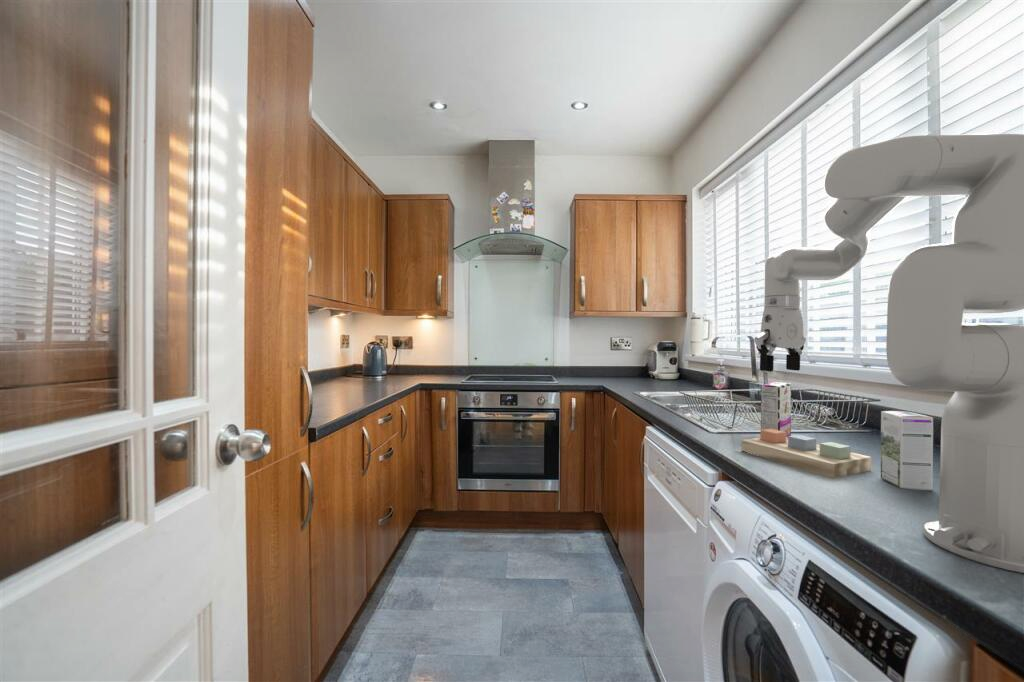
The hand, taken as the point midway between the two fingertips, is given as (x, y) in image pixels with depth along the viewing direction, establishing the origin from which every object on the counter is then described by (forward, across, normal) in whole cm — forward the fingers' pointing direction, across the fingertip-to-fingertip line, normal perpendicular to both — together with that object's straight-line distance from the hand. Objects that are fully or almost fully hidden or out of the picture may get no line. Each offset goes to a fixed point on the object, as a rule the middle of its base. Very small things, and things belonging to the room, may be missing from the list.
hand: (779, 370), depth 102 cm
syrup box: (+21, +3, -24) cm, 32 cm away
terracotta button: (+19, -1, 0) cm, 19 cm away
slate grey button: (+19, -1, -7) cm, 20 cm away
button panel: (+21, -1, -7) cm, 22 cm away
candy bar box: (+22, +12, +9) cm, 26 cm away
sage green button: (+19, -1, -14) cm, 23 cm away
